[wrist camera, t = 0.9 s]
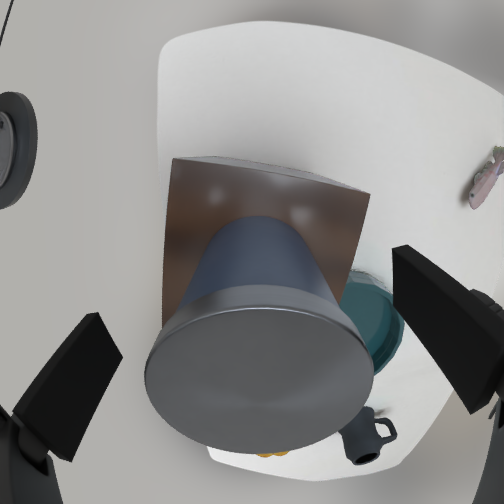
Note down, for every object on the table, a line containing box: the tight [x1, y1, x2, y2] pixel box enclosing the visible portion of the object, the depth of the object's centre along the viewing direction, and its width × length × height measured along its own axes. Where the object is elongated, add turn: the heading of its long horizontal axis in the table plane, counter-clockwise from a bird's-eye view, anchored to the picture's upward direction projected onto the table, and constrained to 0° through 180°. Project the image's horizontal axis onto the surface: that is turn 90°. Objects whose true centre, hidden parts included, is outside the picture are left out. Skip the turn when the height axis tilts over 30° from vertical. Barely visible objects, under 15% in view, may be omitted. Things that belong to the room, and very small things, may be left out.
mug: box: [338, 407, 397, 465], centre depth 43 cm, size 12×9×11 cm
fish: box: [469, 146, 504, 210], centre depth 29 cm, size 3×14×5 cm, turn 141°
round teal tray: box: [339, 271, 405, 376], centre depth 38 cm, size 21×21×4 cm
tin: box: [144, 216, 374, 454], centre depth 12 cm, size 7×7×10 cm
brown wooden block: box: [162, 156, 370, 328], centre depth 26 cm, size 12×12×18 cm
